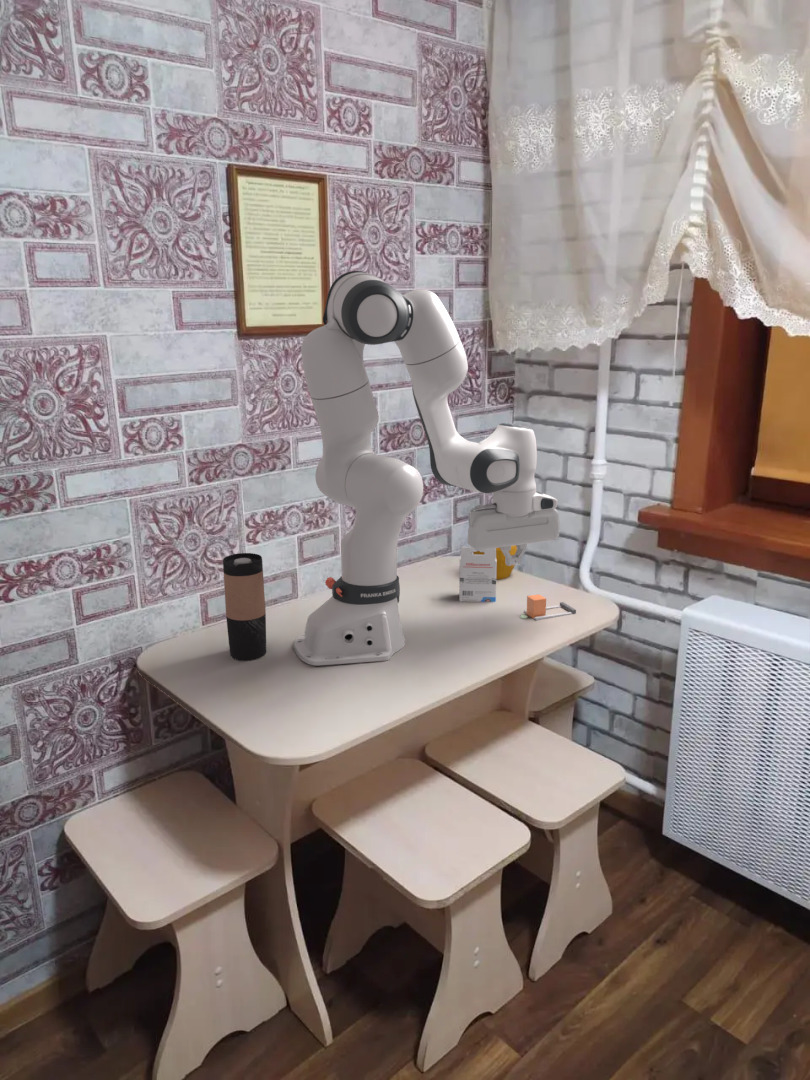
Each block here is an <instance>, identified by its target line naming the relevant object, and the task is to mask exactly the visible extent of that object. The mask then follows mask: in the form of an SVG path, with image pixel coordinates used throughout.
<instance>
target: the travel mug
mask: <svg viewBox="0 0 810 1080" xmlns="http://www.w3.org/2000/svg"><path fill="white" fill-rule="evenodd" d="M222 567H223V568H222V570H223V584H224V602H225V603H224V604H225V616H226V617H225V619H226V627H227V637H228V639H227V640H228V647H229V655H230V658H231V659H233V660H235V661H238V662H239V661H240V662H248V661H255V660H259V659H260V658H263V657H264V656H265V655H266V654H267V622H266V621H267V614H266V612H267V610H266V598H265V585H264V583H265V582H264V581H265V580H264V568H263V557H262V556H261V555H260V554H257V553H254V552H253V553H252V552H246V553H245V552H240V553H233V554H231V555H230V554H229V555H226V556H225V557H224V558H223V559H222Z"/></svg>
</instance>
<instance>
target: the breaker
mask: <svg viewBox="0 0 810 1080" xmlns="http://www.w3.org/2000/svg"><path fill="white" fill-rule="evenodd" d="M546 607H547V598H545V597H544V596H543V595H541V594H533V595H527V597H526V610H527V613H526V615H527V616H528V617H530V618H532V619H533V620H535V619H534V617H539V616H545V615H547V614H546V613H547V610H546Z"/></svg>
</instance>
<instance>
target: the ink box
mask: <svg viewBox="0 0 810 1080" xmlns="http://www.w3.org/2000/svg"><path fill="white" fill-rule="evenodd" d="M478 551H480V552H484V553H485V554H484V555H474V553H473V552H477V550H474V549H473V548H471V547H470V546H461V547H460V557H459V582H458V583H459V586H458V587H459V594H458V595H459V598H458V599H459V602H465V603H466V602H468V603H469V602H472V603H473V602H477V603H478V602H479V603H480V602H481V603H482V602H483V603H484V602H485V603H488V602H489V603H490V602H491V603H493V602H494V603H495V602H496V601H497V580H496V564H497V561H496V548H493V549H485V550H478Z"/></svg>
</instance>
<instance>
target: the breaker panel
mask: <svg viewBox="0 0 810 1080" xmlns="http://www.w3.org/2000/svg"><path fill="white" fill-rule="evenodd" d="M558 608H562V609H564V610H565V609H566V610H565V611H566V612H561V613H553V614H546V615H545V616H539V617H534V619H533V620H535V621H541V620H546V619H547V620H548V619H553V618H557V617H563V616H569V615H576V614H577V609H575V608H574V607H572V606H570V605H569V604H567V603H566V602H563V601H562V602H561V601H560V602H559V604H558V605H556V604H555V605H551V606H546V611H547V610H553V609H554V610H555V609H558ZM523 612H524V613H525V614H521V615H520V616H519V618H520V619H528V617H529V615H527V609H524V610H523Z"/></svg>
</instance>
